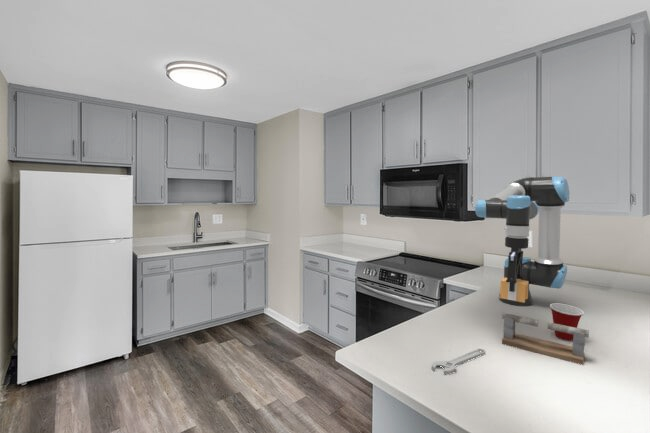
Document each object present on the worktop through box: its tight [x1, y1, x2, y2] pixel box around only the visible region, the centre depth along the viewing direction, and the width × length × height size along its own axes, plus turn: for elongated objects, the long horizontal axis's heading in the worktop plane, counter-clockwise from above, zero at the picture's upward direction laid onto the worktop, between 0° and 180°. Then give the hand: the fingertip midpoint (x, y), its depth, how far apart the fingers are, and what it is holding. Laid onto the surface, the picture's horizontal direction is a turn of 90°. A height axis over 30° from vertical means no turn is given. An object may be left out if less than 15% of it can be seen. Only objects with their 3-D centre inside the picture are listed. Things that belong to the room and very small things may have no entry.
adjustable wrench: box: [431, 348, 486, 375], centre depth 109 cm, size 25×6×2 cm, turn 118°
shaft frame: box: [501, 312, 590, 365], centre depth 119 cm, size 10×26×10 cm, turn 51°
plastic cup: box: [549, 302, 585, 341], centre depth 129 cm, size 11×11×12 cm
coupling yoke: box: [499, 277, 529, 303], centre depth 124 cm, size 6×8×7 cm
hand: (514, 297), depth 124 cm, fingers closed on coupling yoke, 6 cm apart
